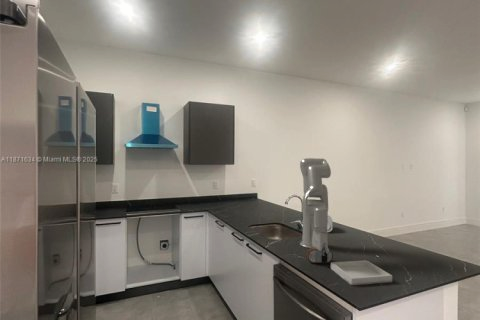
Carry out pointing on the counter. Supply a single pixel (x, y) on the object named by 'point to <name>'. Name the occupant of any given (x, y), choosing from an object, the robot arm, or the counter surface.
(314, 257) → the tin
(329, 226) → the bowl
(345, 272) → the white tray
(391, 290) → the counter surface
